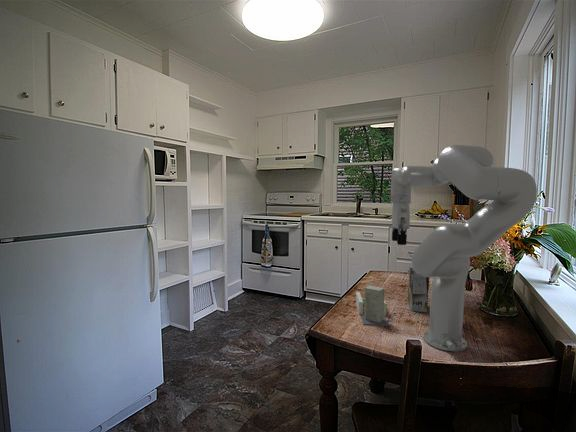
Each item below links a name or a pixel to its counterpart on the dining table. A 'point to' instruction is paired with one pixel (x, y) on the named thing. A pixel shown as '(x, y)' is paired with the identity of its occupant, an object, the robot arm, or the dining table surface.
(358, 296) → the rack
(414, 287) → the coffee box
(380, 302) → the skincare box
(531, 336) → the dining table surface
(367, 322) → the mat
